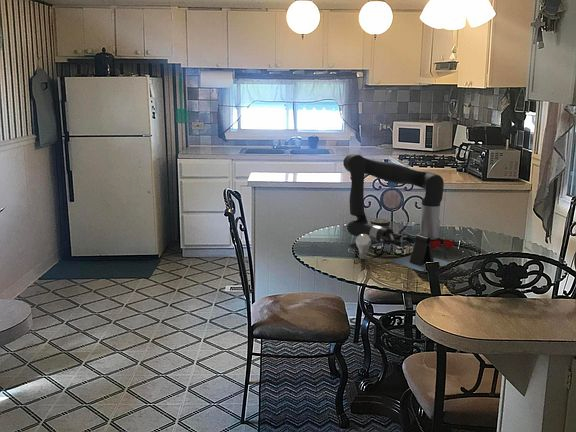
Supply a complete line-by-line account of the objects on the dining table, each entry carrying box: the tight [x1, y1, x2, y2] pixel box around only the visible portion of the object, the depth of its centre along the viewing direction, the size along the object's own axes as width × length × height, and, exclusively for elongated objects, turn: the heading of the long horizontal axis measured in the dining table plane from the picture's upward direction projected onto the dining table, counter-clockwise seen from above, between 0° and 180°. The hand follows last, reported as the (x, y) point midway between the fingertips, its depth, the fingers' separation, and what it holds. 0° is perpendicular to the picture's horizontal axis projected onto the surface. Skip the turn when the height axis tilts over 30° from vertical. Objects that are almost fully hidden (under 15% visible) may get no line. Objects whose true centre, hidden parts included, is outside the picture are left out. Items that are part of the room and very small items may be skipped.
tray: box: [389, 255, 450, 271], centre depth 264 cm, size 20×20×1 cm
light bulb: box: [355, 234, 372, 261], centre depth 267 cm, size 7×7×12 cm
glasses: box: [430, 238, 473, 260], centre depth 280 cm, size 14×16×5 cm
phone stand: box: [409, 234, 434, 266], centre depth 262 cm, size 9×6×12 cm, turn 125°
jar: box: [370, 218, 391, 229], centre depth 310 cm, size 10×10×8 cm
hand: (406, 242), depth 270 cm, fingers open, 8 cm apart
